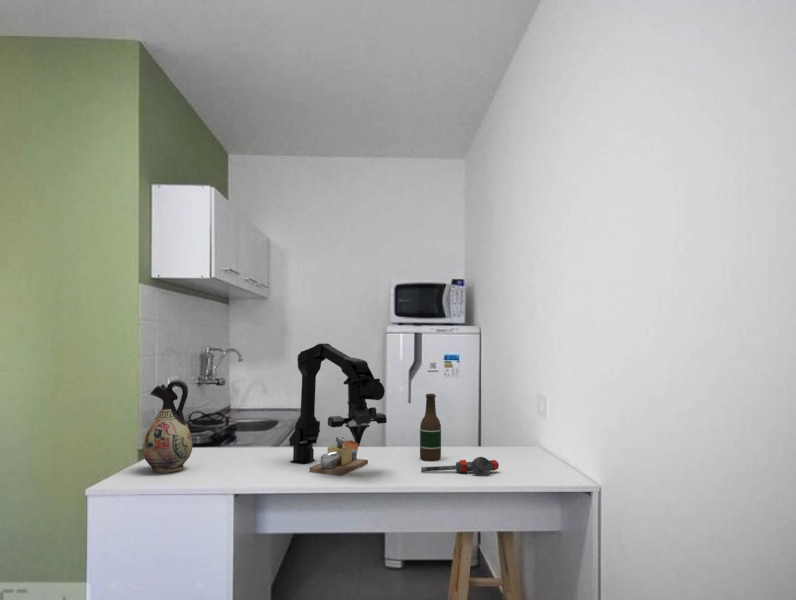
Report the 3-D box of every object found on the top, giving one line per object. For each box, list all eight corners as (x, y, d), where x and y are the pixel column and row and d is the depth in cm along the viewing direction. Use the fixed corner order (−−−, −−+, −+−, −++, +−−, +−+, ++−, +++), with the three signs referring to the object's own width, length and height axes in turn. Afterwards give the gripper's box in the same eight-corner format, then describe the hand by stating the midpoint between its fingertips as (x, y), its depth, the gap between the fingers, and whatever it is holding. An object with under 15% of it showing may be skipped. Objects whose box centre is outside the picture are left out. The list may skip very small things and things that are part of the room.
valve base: (309, 471, 185) (309, 445, 186) (338, 461, 202) (338, 436, 203) (340, 475, 180) (341, 448, 181) (367, 464, 197) (368, 439, 198)
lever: (334, 441, 192) (334, 436, 193) (342, 441, 194) (342, 435, 194) (350, 449, 178) (350, 443, 179) (358, 449, 180) (358, 443, 180)
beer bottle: (415, 459, 207) (416, 393, 208) (430, 456, 212) (430, 392, 214) (430, 462, 201) (430, 395, 203) (445, 459, 206) (445, 394, 208)
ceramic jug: (132, 475, 178) (136, 381, 181) (155, 465, 194) (158, 378, 196) (184, 476, 178) (187, 381, 180) (203, 465, 193) (206, 378, 195)
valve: (494, 472, 195) (502, 476, 180) (420, 476, 195) (422, 480, 180) (493, 454, 196) (500, 456, 182) (419, 457, 196) (421, 459, 181)
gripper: (335, 402, 173) (336, 454, 172) (391, 399, 179) (393, 448, 178) (326, 399, 183) (327, 447, 182) (380, 395, 190) (381, 442, 189)
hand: (357, 446), depth 183 cm, fingers closed
